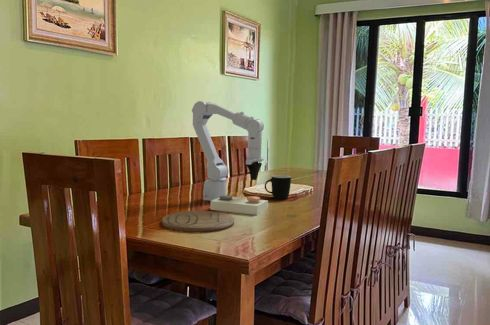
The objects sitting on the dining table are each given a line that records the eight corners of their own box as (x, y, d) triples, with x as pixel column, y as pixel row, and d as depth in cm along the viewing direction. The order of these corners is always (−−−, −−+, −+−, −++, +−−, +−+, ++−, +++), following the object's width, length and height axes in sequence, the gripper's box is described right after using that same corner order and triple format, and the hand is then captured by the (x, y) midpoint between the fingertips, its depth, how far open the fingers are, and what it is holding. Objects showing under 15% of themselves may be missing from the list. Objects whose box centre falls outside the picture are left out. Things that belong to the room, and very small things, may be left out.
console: (210, 209, 176) (210, 201, 176) (223, 204, 187) (223, 196, 187) (257, 214, 169) (257, 205, 169) (267, 209, 180) (267, 200, 180)
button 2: (244, 206, 174) (245, 198, 174) (249, 204, 179) (249, 195, 179) (257, 208, 172) (257, 199, 172) (261, 205, 177) (261, 197, 177)
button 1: (217, 205, 179) (217, 196, 178) (222, 203, 184) (222, 194, 183) (229, 206, 177) (229, 198, 176) (234, 204, 182) (234, 195, 181)
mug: (290, 196, 208) (290, 175, 207) (290, 200, 200) (291, 178, 198) (264, 195, 209) (265, 174, 208) (263, 199, 200) (264, 177, 199)
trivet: (229, 215, 169) (229, 210, 169) (239, 232, 145) (239, 227, 144) (162, 216, 165) (162, 211, 165) (161, 234, 140) (161, 228, 140)
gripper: (257, 149, 179) (256, 182, 180) (269, 147, 192) (268, 178, 194) (241, 148, 182) (240, 181, 183) (254, 146, 195) (253, 177, 196)
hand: (253, 179), depth 189 cm, fingers closed
